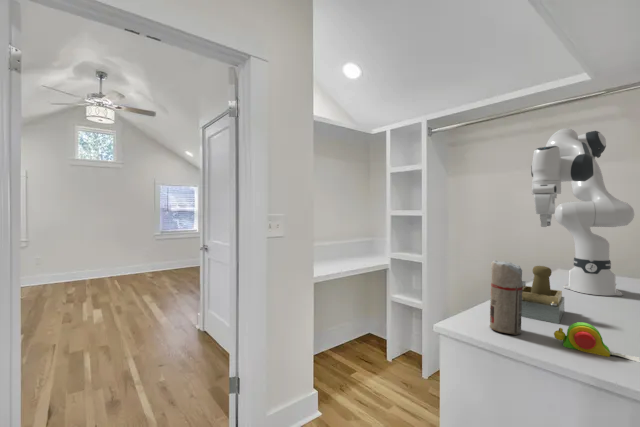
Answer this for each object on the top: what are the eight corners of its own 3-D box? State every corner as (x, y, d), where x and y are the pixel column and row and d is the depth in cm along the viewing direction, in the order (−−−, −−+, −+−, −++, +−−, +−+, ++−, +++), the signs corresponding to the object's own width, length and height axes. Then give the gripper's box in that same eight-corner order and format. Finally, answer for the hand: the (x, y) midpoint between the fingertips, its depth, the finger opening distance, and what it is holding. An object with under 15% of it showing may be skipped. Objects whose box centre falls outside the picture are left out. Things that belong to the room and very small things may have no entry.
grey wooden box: (523, 304, 114) (523, 280, 114) (564, 311, 106) (564, 285, 106) (513, 314, 102) (514, 288, 102) (559, 323, 94) (559, 294, 94)
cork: (555, 302, 100) (557, 268, 99) (534, 300, 101) (536, 267, 101) (546, 296, 106) (547, 265, 105) (526, 294, 107) (528, 263, 107)
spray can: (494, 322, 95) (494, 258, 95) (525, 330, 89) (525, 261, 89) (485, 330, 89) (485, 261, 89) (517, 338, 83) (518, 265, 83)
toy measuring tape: (553, 339, 83) (554, 315, 83) (658, 360, 71) (658, 332, 71) (554, 347, 78) (554, 322, 78) (666, 371, 66) (667, 341, 66)
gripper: (540, 191, 124) (539, 225, 124) (531, 188, 109) (531, 227, 109) (559, 190, 119) (559, 225, 119) (553, 187, 104) (553, 227, 104)
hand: (545, 226), depth 114 cm, fingers open, 8 cm apart
